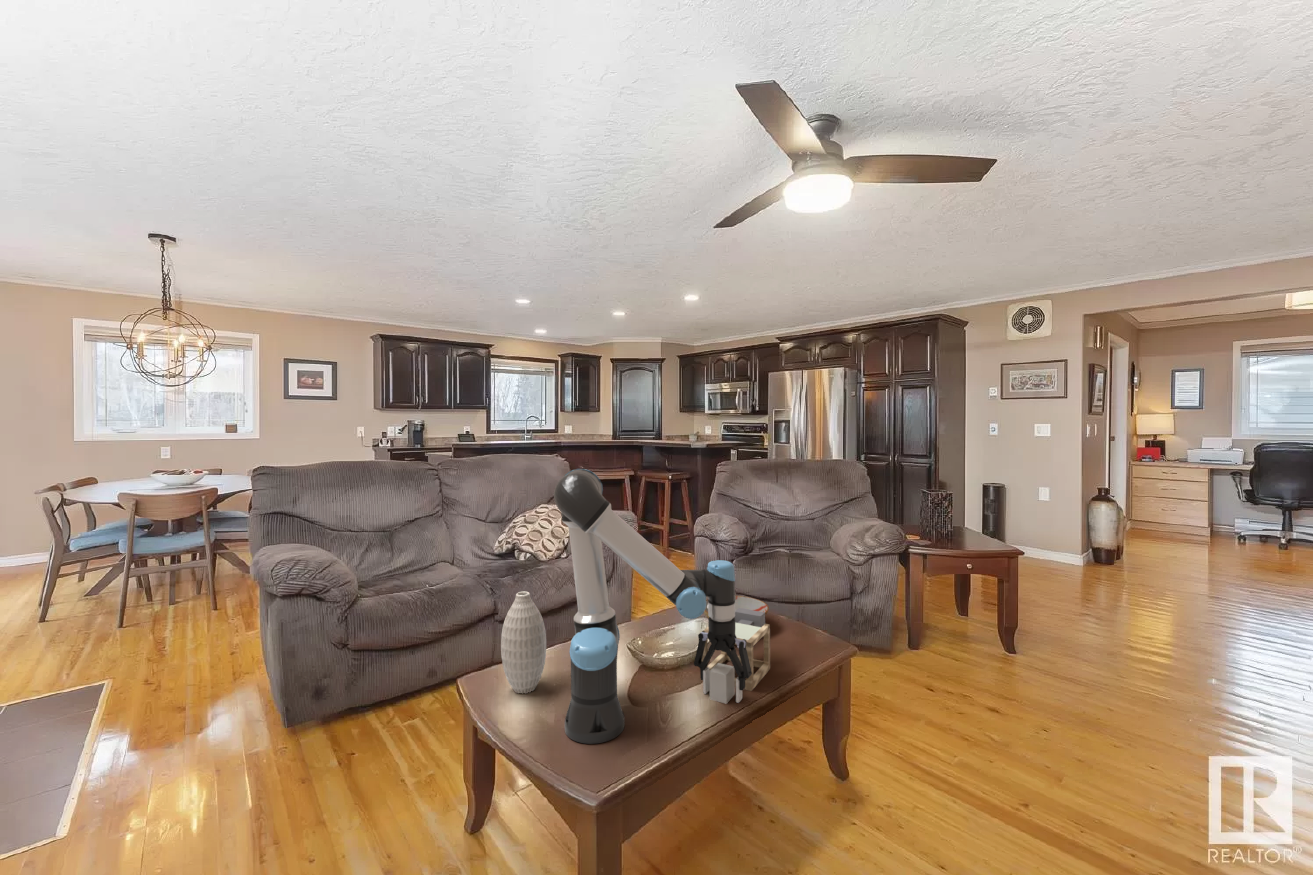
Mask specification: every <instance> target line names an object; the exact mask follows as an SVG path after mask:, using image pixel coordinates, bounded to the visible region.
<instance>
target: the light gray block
mask: <svg viewBox="0 0 1313 875" xmlns="http://www.w3.org/2000/svg"><path fill="white" fill-rule="evenodd" d="M735 674H736V671H735V669H734V666H733V665H730V664H729V665H728V664H726V663H722V664H721V663H718V664H717V665H716V666H714V667H713V668H712V669H711V670H710V671H709V676H710V690H709V700H710V701H713V702H714V701H715V702H718V703H722V704H725V705H726V704H728V702H729V701H730V700H731V699H732V698H733V697H734V696H736V687H735V678H736V677H735V676H736V675H735Z"/></svg>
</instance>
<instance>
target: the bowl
mask: <svg viewBox="0 0 1313 875" xmlns="http://www.w3.org/2000/svg"><path fill="white" fill-rule="evenodd" d="M707 605H708V599H707V598H706V609H705V611H704V612H703V614H704V615H705V616H706V618H707V619H708V618H709V616H708V608H707ZM738 608H743V609H748V610H754V611H760V612H765V617H766V615H767V614H768V612H769V610H770V607H769V604H767V603H766V602H764V601H762V600H760V599H757V598H754V597H751V596H744V595H735V611H736V610H737V609H738Z"/></svg>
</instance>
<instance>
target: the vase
mask: <svg viewBox="0 0 1313 875" xmlns="http://www.w3.org/2000/svg"><path fill="white" fill-rule="evenodd" d="M544 622H545V621H544V620H543V617H542V614H541V612H540V610H539V608H538V607H537V605H536V604H535V602H534V601H533V600H532V598H531V593H530V592H528V591H518V592H517V593H516V594H515V598H514V601H513V602H512V604H511V605H510V608H509V609H508V611H507V614H506V616H505V619H504V621H503V625H502V629H501V634H500V635H501V636H500V637H501V638H500V651H501V652H500V654H501V655H500V656H501V663H502V668H503V672H504V674H505V678H506V680H507V682H508V684H509V686H511V688H512V690H513V691H514V693H516V694H519V693H522V694H523V693H525V694H529V693H531V691H532V692H533V691H534V690H535V689H536V688H537V686H538V684H539V682H540V680H541V678H542V675H543V672H544V669H545V665H546V656H547V636H546V635H547V634H546V633H547V632H546V627H545V623H544ZM528 692H529V693H528ZM522 694H521V695H522Z"/></svg>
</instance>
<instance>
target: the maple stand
mask: <svg viewBox="0 0 1313 875" xmlns="http://www.w3.org/2000/svg"><path fill="white" fill-rule="evenodd" d="M702 631H705V633H708V632H709V629H708V626H707V627H706V628H704V629H703V630H702ZM762 638H763V660H760V659H756V658H754V646H755V645H756V644H757V643H758V642H759V641H760V640H761V639H762ZM737 639H740V640H743V639H741V638H737ZM708 640H709V639H708V638H707V640H706V643H705V648H704V652H703V657H702V661H703V659H704V658H705V656H706V654H707V652H708V649H709V647H708V646H709V645H708V644H709V643H708ZM746 641H747V642H746V650H747V654H748V658H749V663H750V667H751V671H752V675H751V676H750V677H749V678H748V679H745V688H744V690H745V691H749V692H752V691H753V690H754V689H755V688H756V686H758V684H759V683H760V682H761V680H762V679H763V678H764V677H765V675H767V673H768V672H769V671H770V670H771V625H770V624H768V623H765V624H764V625H763V626H762V627H761V628H760V629H759V630H758V631H757V632H756V633H755V634H754V635H753V636H752V637H751V638H750V639H749V640H746ZM735 645H736V646H737V644H736V643H735V644H734V646H735ZM737 656H738V658H739V660H740V662H741V659H740V655H739V654H737ZM726 661H728V662H731V660H730V658H729V656H728V655H727V653H726V652H723V651H721V650H720V654H719V655H718V656H717V657H716V658H715V659H713V661H711V662H709V663H708V665H707V666H706V668H707V667H709V671H710V670H711V669H712V668H713V667H714V666H716V665H717V664H718V663H721V664H725V662H726ZM741 664H742V663H741ZM754 667H755V668H758V670H756V672H755V673H754ZM736 678H737V677H735V688H736Z"/></svg>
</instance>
